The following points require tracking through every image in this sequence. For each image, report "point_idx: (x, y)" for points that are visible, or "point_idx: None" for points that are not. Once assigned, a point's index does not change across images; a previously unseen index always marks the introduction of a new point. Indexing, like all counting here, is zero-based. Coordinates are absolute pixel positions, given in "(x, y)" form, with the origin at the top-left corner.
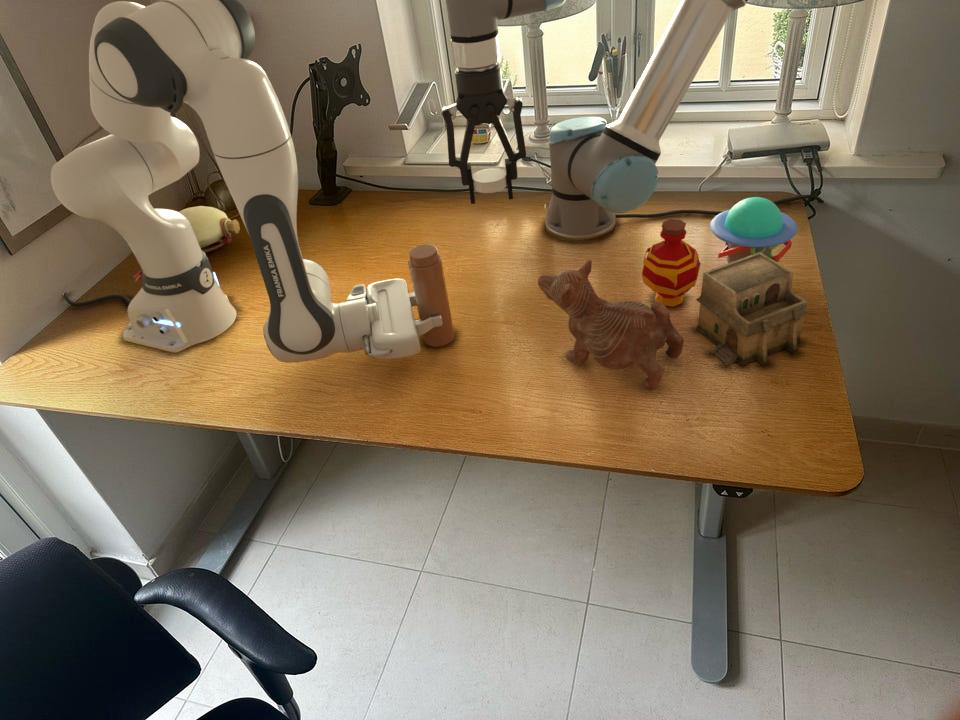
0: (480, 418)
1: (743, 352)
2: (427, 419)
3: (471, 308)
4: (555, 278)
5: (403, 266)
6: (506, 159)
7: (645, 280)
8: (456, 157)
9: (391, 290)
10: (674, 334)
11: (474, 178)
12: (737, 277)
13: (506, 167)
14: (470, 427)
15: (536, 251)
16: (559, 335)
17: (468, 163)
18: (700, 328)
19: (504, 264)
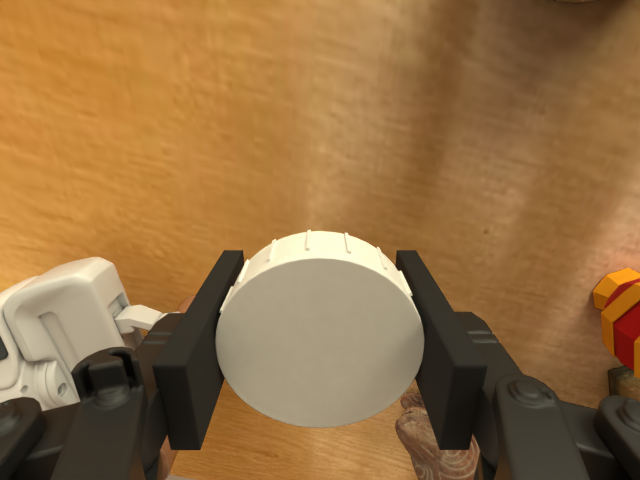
0: (276, 464)
1: None
2: (211, 457)
3: (257, 245)
4: (433, 465)
5: (58, 17)
6: (465, 376)
7: (607, 326)
8: (39, 465)
9: (71, 320)
10: None
11: (231, 371)
12: None
13: (437, 434)
14: (264, 473)
15: (427, 25)
16: None
17: (168, 364)
18: (614, 383)
19: (335, 78)
